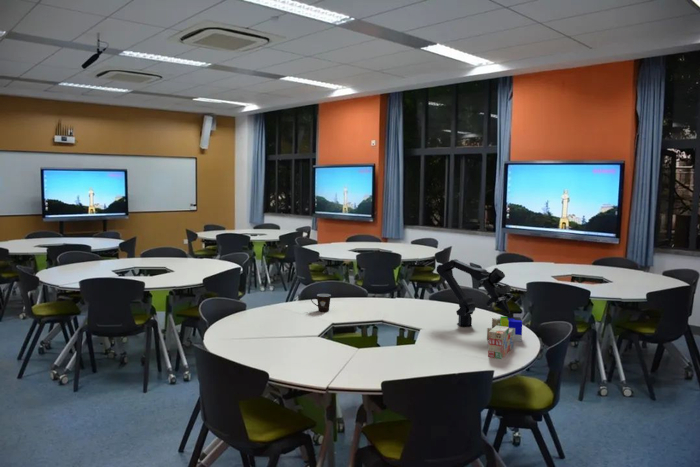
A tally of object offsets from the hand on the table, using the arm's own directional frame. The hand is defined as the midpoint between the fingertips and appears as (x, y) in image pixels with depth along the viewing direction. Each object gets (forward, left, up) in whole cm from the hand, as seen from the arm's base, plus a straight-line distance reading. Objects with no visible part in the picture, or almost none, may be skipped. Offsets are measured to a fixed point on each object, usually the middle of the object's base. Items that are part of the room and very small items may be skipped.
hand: (509, 312), depth 276 cm
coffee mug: (-90, +69, -13) cm, 114 cm away
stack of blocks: (-17, -24, -13) cm, 32 cm away
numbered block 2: (-12, -7, -12) cm, 18 cm away
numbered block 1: (0, +12, -12) cm, 18 cm away
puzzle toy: (0, -3, -13) cm, 13 cm away
